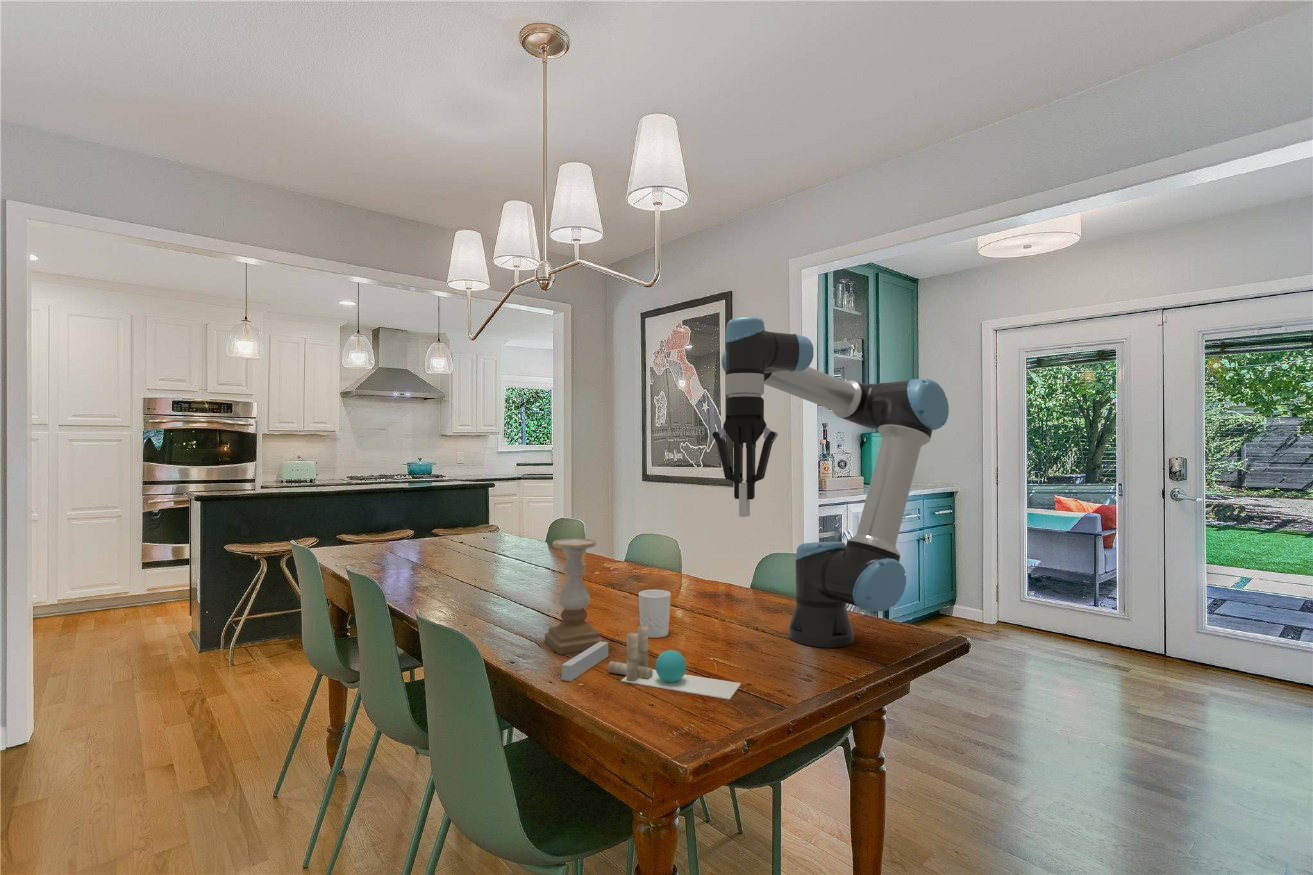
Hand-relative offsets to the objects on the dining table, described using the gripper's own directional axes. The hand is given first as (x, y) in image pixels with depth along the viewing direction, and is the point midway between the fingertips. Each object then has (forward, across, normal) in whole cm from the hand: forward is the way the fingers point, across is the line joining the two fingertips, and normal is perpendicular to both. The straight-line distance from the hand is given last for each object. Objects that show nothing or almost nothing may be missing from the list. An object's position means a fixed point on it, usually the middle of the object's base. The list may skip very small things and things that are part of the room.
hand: (744, 515), depth 123 cm
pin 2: (+32, +20, +4) cm, 38 cm away
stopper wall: (+32, +32, +6) cm, 46 cm away
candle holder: (+33, +42, -6) cm, 54 cm away
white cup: (+33, +28, -21) cm, 48 cm away
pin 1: (+32, +20, +8) cm, 39 cm away
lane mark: (+32, +11, +6) cm, 35 cm away
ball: (+29, +13, +6) cm, 33 cm away
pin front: (+31, +17, +6) cm, 36 cm away
